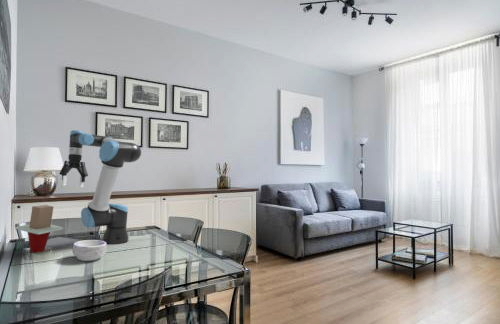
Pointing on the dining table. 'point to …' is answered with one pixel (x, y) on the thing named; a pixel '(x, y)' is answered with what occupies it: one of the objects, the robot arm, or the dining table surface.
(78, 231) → the dining table surface
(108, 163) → the robot arm
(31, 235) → the plastic cup
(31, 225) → the lid
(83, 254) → the paper bowls
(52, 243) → the mat
